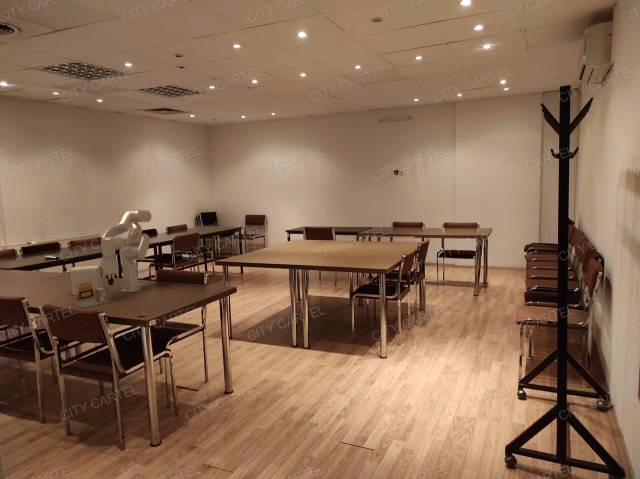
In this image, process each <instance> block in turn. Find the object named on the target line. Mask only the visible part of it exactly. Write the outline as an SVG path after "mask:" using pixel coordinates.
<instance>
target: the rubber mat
mask: <svg viewBox="0 0 640 479" xmlns="http://www.w3.org/2000/svg"><path fill="white" fill-rule="evenodd" d="M105 300H106V301H104V302H99V301H96V298H94V299H92V300H87V301H82V302H78V303H73V306H75V307H77V308H81V309H86V308H92V307H96V306H99V305H104V304H110V303H113V301H112V300H111V299H110V300H109V299H106V298H105Z"/></svg>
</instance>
